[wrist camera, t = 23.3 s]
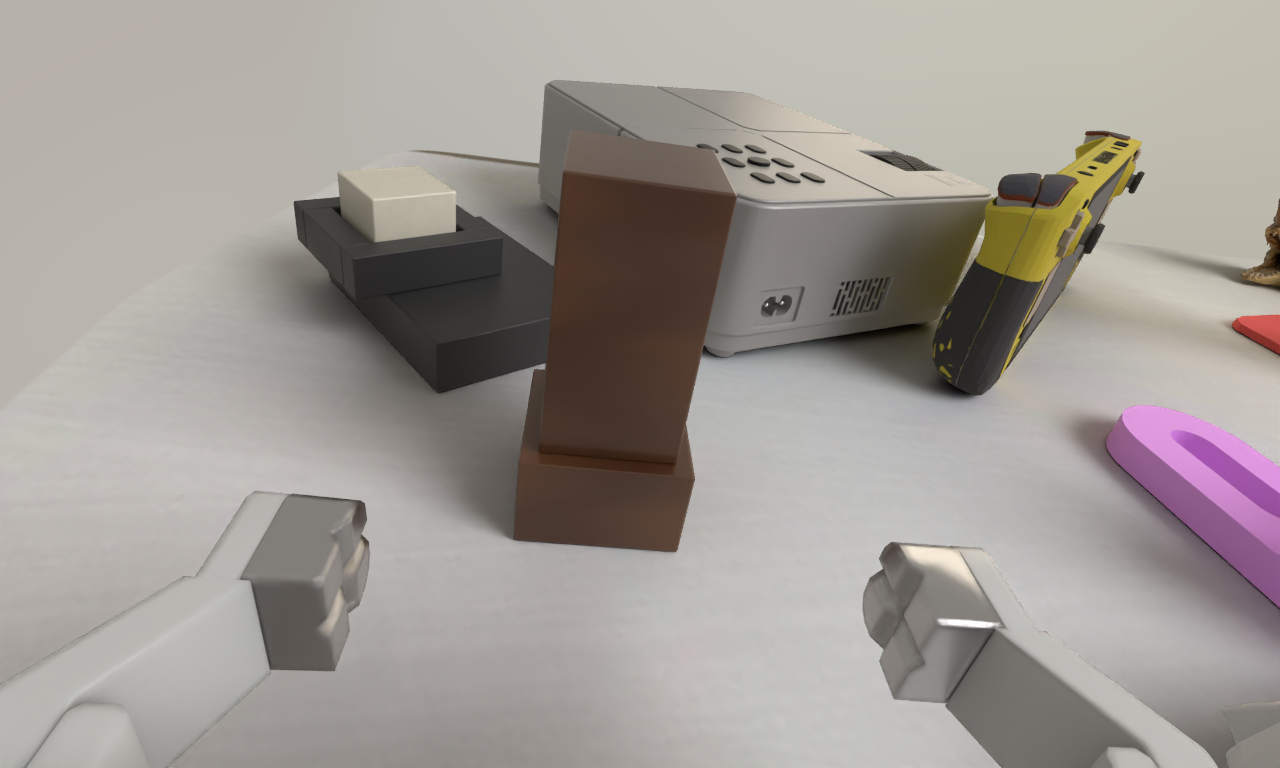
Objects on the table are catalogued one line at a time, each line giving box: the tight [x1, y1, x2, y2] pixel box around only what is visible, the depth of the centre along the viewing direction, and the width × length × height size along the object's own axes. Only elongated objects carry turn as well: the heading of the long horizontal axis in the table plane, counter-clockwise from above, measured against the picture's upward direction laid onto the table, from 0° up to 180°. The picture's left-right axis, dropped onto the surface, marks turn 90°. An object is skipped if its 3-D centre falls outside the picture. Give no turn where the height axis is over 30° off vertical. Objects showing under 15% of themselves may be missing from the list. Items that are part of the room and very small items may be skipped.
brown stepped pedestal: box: [513, 130, 737, 552], centre depth 20 cm, size 5×5×11 cm
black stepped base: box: [294, 197, 554, 392], centre depth 30 cm, size 9×11×4 cm
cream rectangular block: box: [338, 166, 456, 243], centre depth 29 cm, size 4×4×2 cm
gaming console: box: [932, 131, 1144, 395], centre depth 38 cm, size 26×4×10 cm, turn 142°
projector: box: [538, 80, 993, 357], centre depth 40 cm, size 17×22×8 cm
